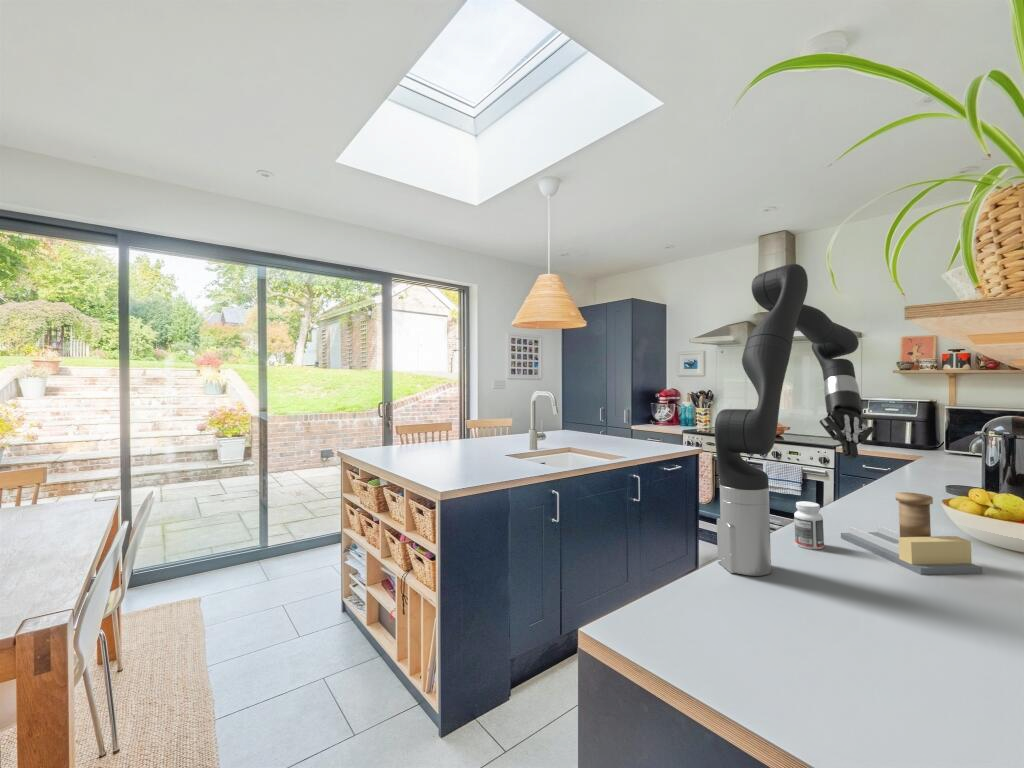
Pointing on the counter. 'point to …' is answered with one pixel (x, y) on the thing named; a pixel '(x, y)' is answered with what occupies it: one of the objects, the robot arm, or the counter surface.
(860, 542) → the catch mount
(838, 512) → the counter surface
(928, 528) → the knob
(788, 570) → the counter surface
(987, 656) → the counter surface
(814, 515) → the pill bottle
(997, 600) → the counter surface
